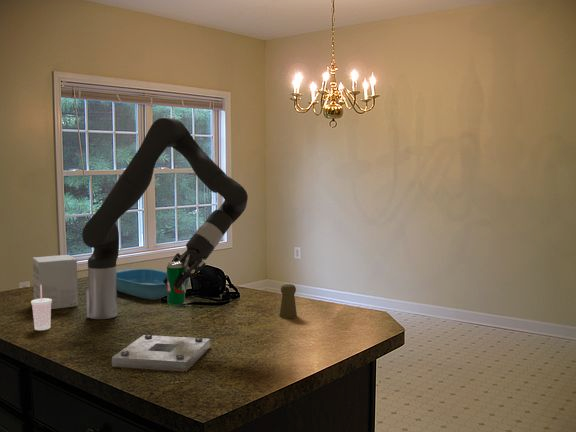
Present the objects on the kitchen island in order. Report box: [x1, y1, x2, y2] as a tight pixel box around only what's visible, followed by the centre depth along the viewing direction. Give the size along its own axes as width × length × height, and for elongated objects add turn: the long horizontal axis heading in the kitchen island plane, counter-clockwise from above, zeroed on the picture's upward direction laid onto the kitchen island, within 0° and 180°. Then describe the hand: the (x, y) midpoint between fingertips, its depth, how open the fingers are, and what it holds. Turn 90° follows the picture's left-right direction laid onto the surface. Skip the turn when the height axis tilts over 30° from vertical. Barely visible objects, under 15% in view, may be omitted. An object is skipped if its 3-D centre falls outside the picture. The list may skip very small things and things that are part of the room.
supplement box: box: [32, 254, 79, 310], centre depth 218 cm, size 13×13×18 cm
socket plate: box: [111, 334, 211, 372], centre depth 161 cm, size 20×20×3 cm
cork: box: [279, 283, 298, 319], centre depth 203 cm, size 6×6×11 cm
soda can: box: [166, 261, 186, 306], centre depth 173 cm, size 5×5×12 cm
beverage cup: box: [30, 285, 52, 331], centre depth 187 cm, size 6×6×14 cm
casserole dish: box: [116, 268, 190, 301], centre depth 240 cm, size 37×22×7 cm, turn 49°
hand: (170, 285), depth 171 cm, fingers closed on soda can, 5 cm apart
